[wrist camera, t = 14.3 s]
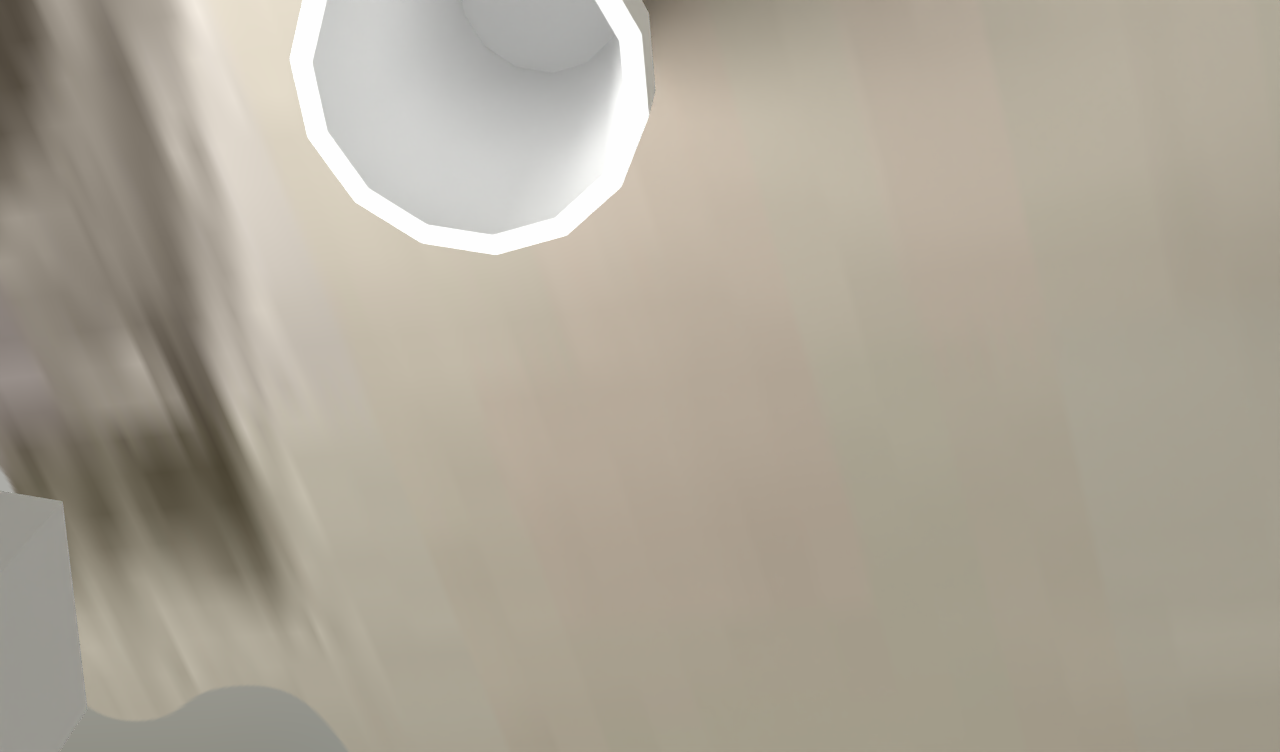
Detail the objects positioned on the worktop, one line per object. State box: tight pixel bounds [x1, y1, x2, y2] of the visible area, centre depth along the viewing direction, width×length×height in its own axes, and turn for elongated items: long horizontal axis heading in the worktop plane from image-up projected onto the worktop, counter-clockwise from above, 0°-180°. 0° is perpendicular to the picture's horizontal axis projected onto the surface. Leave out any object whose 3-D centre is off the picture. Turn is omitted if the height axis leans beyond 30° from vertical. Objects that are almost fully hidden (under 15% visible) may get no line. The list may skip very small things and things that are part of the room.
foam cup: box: [290, 0, 656, 255], centre depth 37 cm, size 10×9×13 cm
